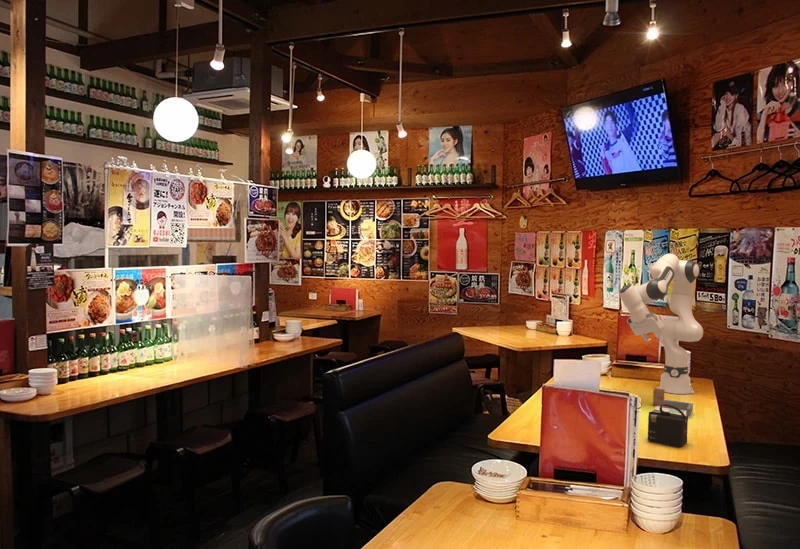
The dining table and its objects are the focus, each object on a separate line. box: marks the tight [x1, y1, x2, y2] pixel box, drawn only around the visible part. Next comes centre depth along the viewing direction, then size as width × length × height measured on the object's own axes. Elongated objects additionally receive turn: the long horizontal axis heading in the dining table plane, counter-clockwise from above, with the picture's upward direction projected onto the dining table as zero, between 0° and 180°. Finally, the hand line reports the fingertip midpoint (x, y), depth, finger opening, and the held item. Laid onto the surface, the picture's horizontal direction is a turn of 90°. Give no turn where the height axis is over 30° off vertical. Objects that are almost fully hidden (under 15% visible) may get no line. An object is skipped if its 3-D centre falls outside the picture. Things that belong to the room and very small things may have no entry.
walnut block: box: [652, 387, 666, 407], centre depth 317 cm, size 4×4×8 cm
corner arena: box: [654, 399, 694, 420], centre depth 303 cm, size 12×16×4 cm
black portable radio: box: [647, 404, 689, 448], centre depth 258 cm, size 11×14×15 cm
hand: (654, 340), depth 316 cm, fingers open, 8 cm apart
